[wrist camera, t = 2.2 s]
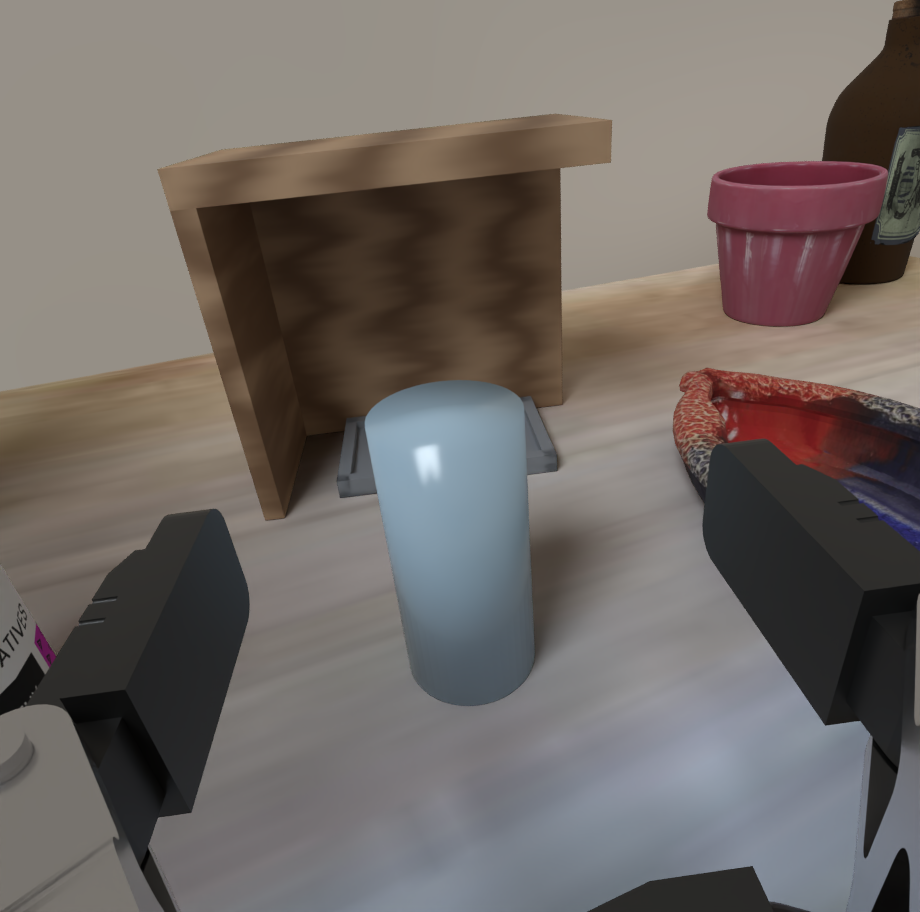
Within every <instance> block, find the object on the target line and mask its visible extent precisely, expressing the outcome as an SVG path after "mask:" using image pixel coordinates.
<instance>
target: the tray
mask: <svg viewBox="0 0 920 912" xmlns="http://www.w3.org/2000/svg"><path fill="white" fill-rule="evenodd" d="M519 398H520V399H521V400H522V402H523V405H524V414H525V437H526V460H527V474H535V473H543V472H551V471H557V454H556V452H555V449H554V447H553V445H552V443H551V440H550V438H549V436H548V434H547V431H546V429H545V427H544V425H543V422H542V420H541V418H540V416H539V414H538V411H537V409H536V407H535V405H534V402H533V400H532V398H531V396H526V397H519ZM365 419H366V416H361V417H352V418H347V419H346V426H345V432H344V439H343V445H342V451H341V458H340V464H339V470H338V477H337V486H338V490H339V494H340V498H342V497H350V496H358V495H366V494H374V493H377V489H376V484H375V478H374V473H373V468H372V463H371V457H370V452H369V447H368V441H367V436H366V431H365Z"/></svg>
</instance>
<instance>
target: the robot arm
mask: <svg viewBox="0 0 920 912" xmlns="http://www.w3.org/2000/svg"><path fill="white" fill-rule="evenodd" d="M703 536H704V541H705V545H706V549H707V551H708V554H709V556H710V558H711V560H712V561H713V563H714V564H715V566H716V567H717V569H718V570H719V572H720V573H721V575H722V576H723V577H724V579H725V580H726V582H727V583H728V585H729V586H730V588H731V589H732V591H733V592H734V593H735V595H736V596H737V598H738V599H739V601H740V602H741V604H742V605H743V607H744V608H745V609H746V611H747V612H748V614H749V615H750V617H751V618H752V620H753V621H754V623H755V624H756V625H757V627H758V628H759V630H760V631H761V633H762V634H763V636H764V637H765V639H766V640H767V641H768V643H769V644H770V646H771V647H772V649H773V650H774V652H775V653H776V655H777V656H778V657H779V659H780V660H781V662H782V663H783V665H784V666H785V668H786V669H787V671H788V672H789V673H790V675H791V676H792V678H793V679H794V681H795V682H796V684H797V685H798V687H799V688H800V689H801V691H802V692H803V694H804V695H805V697H806V698H807V700H808V701H809V703H810V704H811V705H812V707H813V708H814V710H815V711H816V713H817V714H818V716H819V717H820V719H821V720H822V721H823V723H824V724H825V726H826V725H833V724H840V723H847V722H854V721H861V722H862V724H863V725H864V726H865V728H866V729H867V730H868V732H869V733H870V737H869V740H868V742H867V745H866V750H865V757H864V768H863V779H862V789H861V800H860V811H859V821H858V832H857V843H856V854H855V864H854V873H853V880H852V886H851V892H850V896H849V901H848V905H847V909H846V912H920V551H919V550H918V549H916V548H915V547H914V546H913V545H912V544H911V543H909V542H908V541H907V540H906V539H905V538H904V537H902V536H901V535H900V534H899V533H898V532H897V531H895V530H894V529H893V528H892V527H891V526H890V525H888V524H887V523H886V522H885V521H884V520H880V521H879V519H878V515H877V514H875V513H874V512H873V511H872V510H871V509H870V508H868V507H867V506H866V505H865V504H864V503H859V499H858V498H857V497H856V496H854V495H853V494H852V493H851V492H850V491H849V490H847V489H846V488H845V487H844V486H843V485H842V484H840V483H839V482H838V481H837V480H836V479H834V478H832V477H830V476H827V475H825V474H823V473H821V472H819V471H817V470H815V469H812V468H810V467H808V466H806V465H804V464H799V465H796V464H795V463H794V462H793V461H791V460H790V459H789V458H788V457H787V456H786V455H785V454H784V453H783V452H782V451H780V450H779V449H778V448H777V447H776V446H775V445H774V444H773V443H772V442H770V441H769V440H767V439H755V440H747V441H739V442H732V443H724V444H718V445H716V446H715V447H714V448H713V450H712V452H711V455H710V462H709V471H708V480H707V488H706V497H705V506H704V515H703ZM92 601H93V603H92V604H91V605H88V607H87V608H86V610H85V612H84V613H83V615H82V616H81V618H80V620H79V626H77V627H75V628H74V629H73V631H72V632H71V634H70V636H69V637H68V639H67V640H66V642H65V644H64V645H63V647H62V648H61V650H60V652H59V653H58V655H57V656H56V658H55V660H54V661H53V663H52V664H51V666H50V668H49V669H48V671H47V672H46V674H45V676H44V677H43V679H42V680H41V682H40V684H39V685H38V687H37V688H36V690H35V692H34V693H33V695H32V696H31V698H30V700H29V701H28V703H27V705H26V706H25V707H22V708H19V709H15V710H13V711H10V712H8V713H5V714H3V715H1V716H0V912H181V911H180V908H179V906H178V904H177V902H176V900H175V897H174V895H173V893H172V891H171V888H170V886H169V884H168V882H167V880H166V877H165V875H164V873H163V871H162V869H161V866H160V864H159V862H158V860H157V858H156V855H155V853H154V852H153V850H152V848H151V847H150V845H149V842H150V839H151V836H152V833H153V830H154V827H155V824H156V821H157V818H158V817H165V816H172V815H179V814H186V813H191V812H192V809H193V805H194V802H195V798H196V795H197V792H198V788H199V785H200V781H201V778H202V775H203V771H204V768H205V765H206V761H207V758H208V754H209V751H210V748H211V744H212V741H213V737H214V734H215V731H216V727H217V724H218V721H219V717H220V714H221V710H222V707H223V704H224V700H225V697H226V693H227V690H228V687H229V683H230V680H231V677H232V673H233V670H234V666H235V663H236V660H237V656H238V653H239V649H240V646H241V643H242V639H243V636H244V633H245V629H246V626H247V622H248V618H249V592H248V587H247V583H246V580H245V577H244V574H243V571H242V568H241V566H240V563H239V560H238V557H237V554H236V551H235V548H234V546H233V543H232V540H231V537H230V534H229V531H228V529H227V526H226V523H225V520H224V518H223V516H222V514H221V513H220V512H219V511H218V510H217V509H209V510H201V511H193V512H186V513H178V514H170V515H167V516H165V517H164V518H163V519H162V521H161V523H160V524H159V526H158V528H157V530H156V531H155V533H154V535H153V537H152V538H151V540H150V542H149V543H148V545H147V547H146V549H143V550H135V551H134V552H133V553H132V554H130V555H129V556H128V557H127V558H126V559H125V560H124V561H122V562H121V563H120V564H119V565H118V566H117V567H115V568H114V569H113V570H112V571H111V572H110V573H109V574H108V575H107V576H106V578H105V580H104V581H103V583H102V584H101V586H100V588H99V589H98V591H97V592H96V594H95V596H94V597H93V599H92ZM588 912H810V911H806V910H803V909H799V908H795V907H792V906H788V905H785V904H781V903H775V902H769V901H768V898H767V896H766V894H765V892H764V890H763V888H762V886H761V883H760V881H759V879H758V877H757V875H756V873H755V870H754V868H753V866H750V867H743V868H736V869H730V870H723V871H716V872H709V873H702V874H696V875H689V876H682V877H675V878H668V879H662V880H655V881H649V882H647V883H645V884H643V885H641V886H639V887H637V888H635V889H633V890H631V891H629V892H627V893H625V894H623V895H621V896H618V897H616V898H614V899H612V900H610V901H608V902H606V903H604V904H602V905H600V906H598V907H596V908H594V909H592V910H590V911H588Z"/></svg>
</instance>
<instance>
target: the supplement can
mask: <svg viewBox="0 0 920 912" xmlns="http://www.w3.org/2000/svg"><path fill="white" fill-rule="evenodd" d="M55 658H56V656H55V654H54V652H53V651H52V649H51V647H50V646H49V644H48V642H47V641H46V639H45V637H44V636H43V634H42V632H41V631H40V629H39V627H38V626H37V624H36V622H35V621H34V619H33V617H32V616H31V614H30V612H29V611H28V609H27V607H26V606H25V604H24V602H23V601H22V599H21V597H20V596H19V594H18V592H17V591H16V589H15V587H14V586H13V584H12V582H11V581H10V579H9V577H8V575H7V574H6V572H5V570H4V569H3V567H2V565H1V564H0V716H1V715H3V714H5V713H8V712H10V711H13V710H15V709H19V708H22V707H25V706H26V705H27V703H28V701H29V700H30V698H31V696H32V695H33V693H34V692H35V690H36V688H37V687H38V685H39V684H40V682H41V680H42V679H43V677H44V676H45V674H46V672H47V671H48V669H49V668H50V666H51V664H52V663H53V661H54V660H55Z"/></svg>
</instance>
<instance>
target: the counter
mask: <svg viewBox="0 0 920 912" xmlns="http://www.w3.org/2000/svg"><path fill="white" fill-rule="evenodd" d="M611 136H612V120H606V119H598V118H588V117H579V116H571V115H562V114H549V115H539V116H530V117H521V118H512V119H502V120H493V121H484V122H475V123H465V124H456V125H446V126H437V127H428V128H419V129H410V130H400V131H391V132H381V133H372V134H363V135H353V136H344V137H335V138H326V139H317V140H307V141H299V142H289V143H279V144H270V145H260V146H251V147H242V148H233V149H224V150H219V151H216V152H212V153H209V154H206V155H202V156H199V157H196V158H193V159H190V160H186V161H183V162H180V163H177V164H173V165H170V166H166V167H163V168H160V169H158V173H159V176H160V179H161V183H162V186H163V189H164V192H165V195H166V199H167V202H168V206H169V209H170V212H171V215H172V218H173V222H174V225H175V228H176V231H177V235H178V238H179V241H180V245H181V248H182V251H183V254H184V258H185V261H186V264H187V267H188V271H189V274H190V277H191V280H192V283H193V286H194V290H195V293H196V296H197V300H198V303H199V306H200V310H201V313H202V316H203V319H204V322H205V325H206V329H207V332H208V335H209V339H210V342H211V345H212V349H213V352H214V355H215V358H216V362H217V365H218V368H219V371H220V375H221V378H222V381H223V384H224V388H225V391H226V394H227V397H228V401H229V404H230V407H231V410H232V414H233V417H234V420H235V423H236V427H237V430H238V433H239V436H240V440H241V443H242V446H243V449H244V453H245V456H246V459H247V462H248V466H249V469H250V472H251V475H252V479H253V482H254V485H255V488H256V492H257V495H258V498H259V501H260V505H261V508H262V511H263V514H264V518H265V520H272V519H280V518H285V516H286V512H287V508H288V504H289V501H290V497H291V493H292V489H293V485H294V482H295V478H296V474H297V470H298V467H299V463H300V459H301V455H302V452H303V448H304V444H305V440H306V437H307V436H308V435H316V434H324V433H332V432H340V431H345V426H346V419H347V418H352V417H361V416H367V414H368V413H369V411H370V410H371V409H372V408H373V407H374V406H375V405H376V404H377V403H379V402H380V401H381V400H383V399H385V398H386V397H388V396H390V395H392V394H394V393H396V392H399V391H401V390H404V389H407V388H410V387H413V386H417V385H421V384H426V383H432V382H438V381H449V380H471V381H481V382H487V383H492V384H495V385H499V386H502V387H504V388H507V389H508V390H510V391H512V392H514V393H515V394H516V395H517V396H518V397H526V396H531V398H532V400H533V402H534V405H535V407H536V408H538V407H546V406H555V405H562V303H561V198H560V197H561V196H560V195H561V194H560V168H565V167H575V166H584V165H593V164H601V163H610V162H611Z"/></svg>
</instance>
